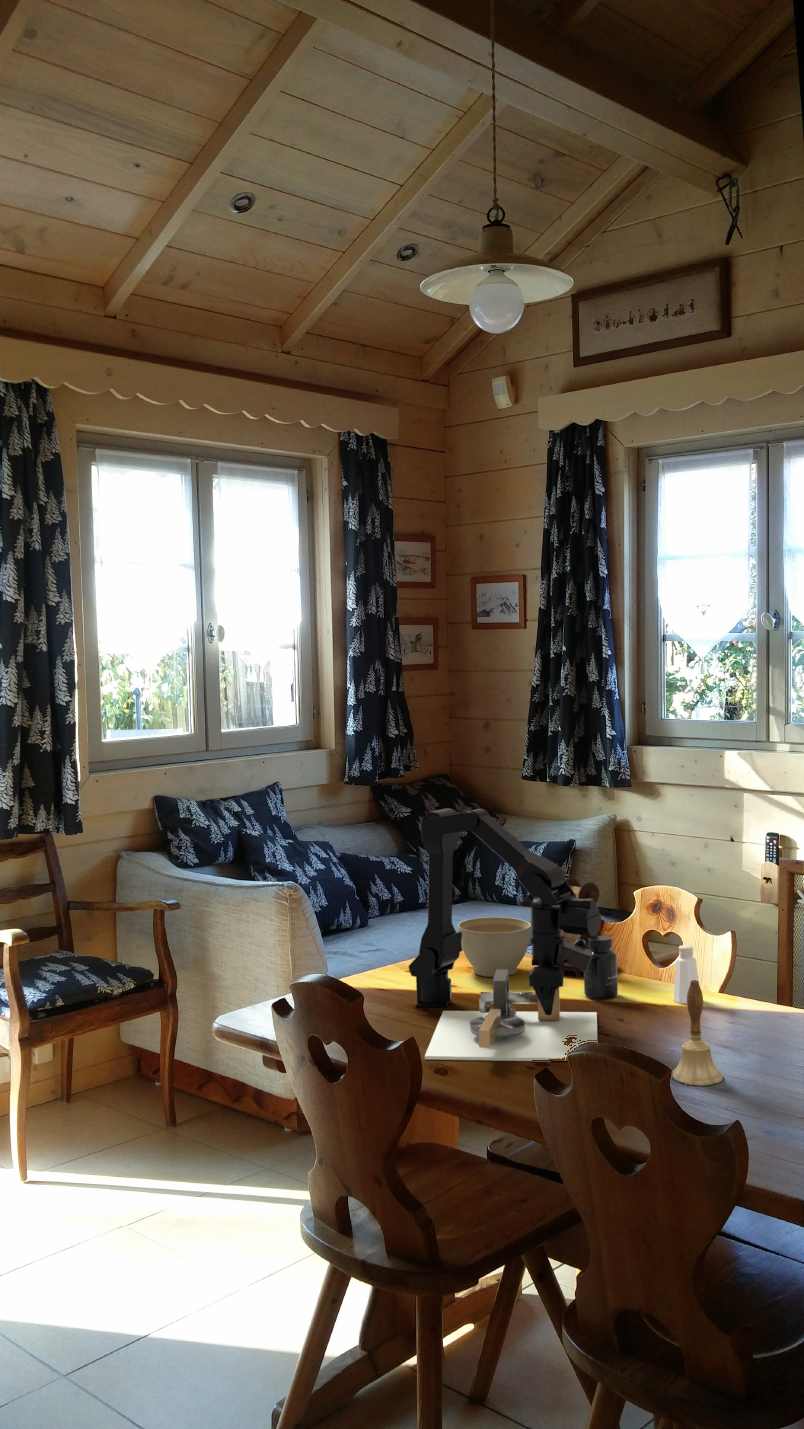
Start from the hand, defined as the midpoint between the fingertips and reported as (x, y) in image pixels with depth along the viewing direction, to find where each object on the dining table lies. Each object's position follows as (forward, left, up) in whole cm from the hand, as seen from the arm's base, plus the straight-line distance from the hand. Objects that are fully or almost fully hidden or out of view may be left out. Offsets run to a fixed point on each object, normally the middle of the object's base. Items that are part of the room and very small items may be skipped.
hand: (548, 1011), depth 228 cm
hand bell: (+25, -29, -2) cm, 38 cm away
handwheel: (-9, -15, 0) cm, 18 cm away
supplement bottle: (+10, +18, -2) cm, 21 cm away
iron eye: (-9, 0, -2) cm, 9 cm away
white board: (-6, -9, -2) cm, 11 cm away
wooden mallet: (-6, 0, -1) cm, 6 cm away
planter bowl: (-13, +36, -2) cm, 38 cm away
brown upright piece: (+6, +39, -2) cm, 40 cm away
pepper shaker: (+27, +15, -2) cm, 31 cm away
